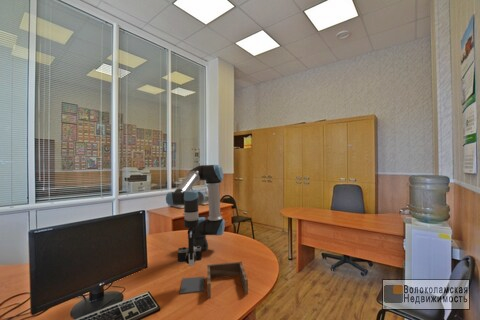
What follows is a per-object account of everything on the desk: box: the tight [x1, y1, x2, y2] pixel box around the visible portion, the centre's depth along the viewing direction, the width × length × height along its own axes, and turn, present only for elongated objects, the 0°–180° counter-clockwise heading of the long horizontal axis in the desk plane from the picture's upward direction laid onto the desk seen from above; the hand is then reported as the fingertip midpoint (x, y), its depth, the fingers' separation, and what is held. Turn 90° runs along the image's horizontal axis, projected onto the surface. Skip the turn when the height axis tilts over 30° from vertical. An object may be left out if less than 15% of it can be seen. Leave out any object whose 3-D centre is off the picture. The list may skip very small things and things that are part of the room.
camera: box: [177, 246, 202, 265], centre depth 117 cm, size 13×8×9 cm, turn 104°
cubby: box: [206, 261, 249, 299], centre depth 116 cm, size 20×20×7 cm
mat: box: [179, 276, 205, 295], centre depth 117 cm, size 14×12×1 cm
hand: (192, 261), depth 117 cm, fingers closed on camera, 8 cm apart
